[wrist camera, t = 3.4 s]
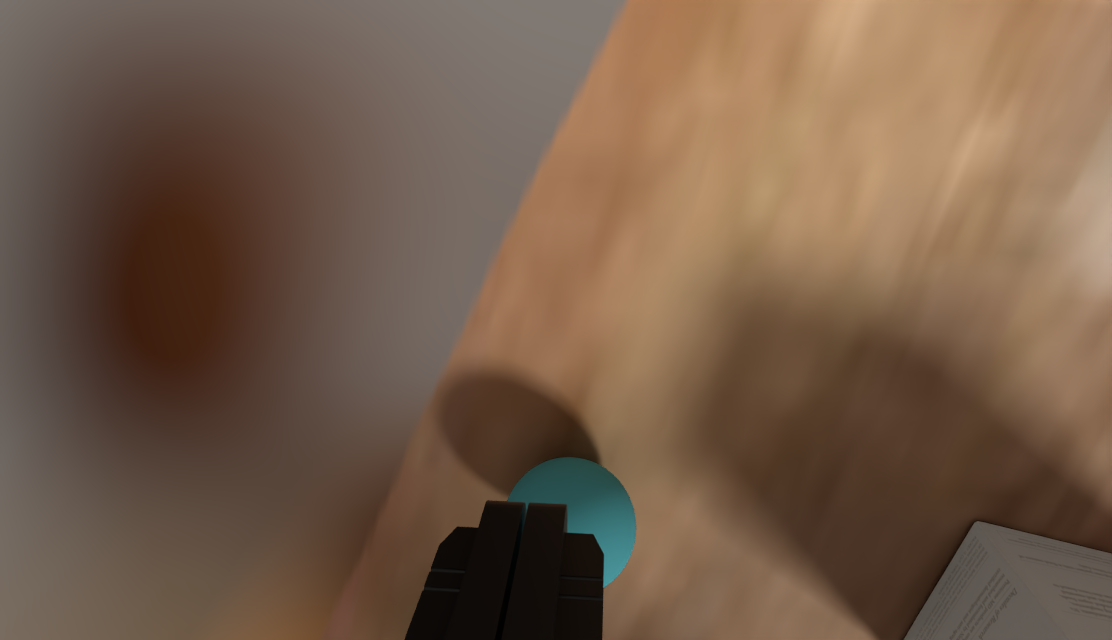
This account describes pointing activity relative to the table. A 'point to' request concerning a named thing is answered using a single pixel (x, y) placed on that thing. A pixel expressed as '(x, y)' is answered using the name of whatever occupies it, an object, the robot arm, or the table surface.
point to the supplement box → (1019, 590)
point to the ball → (585, 505)
